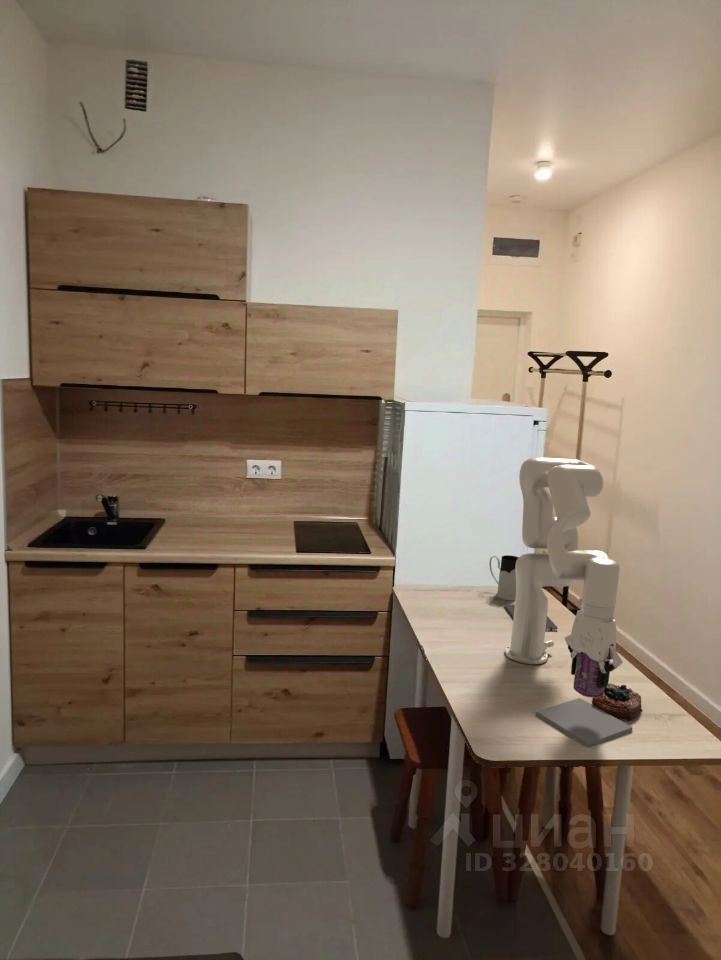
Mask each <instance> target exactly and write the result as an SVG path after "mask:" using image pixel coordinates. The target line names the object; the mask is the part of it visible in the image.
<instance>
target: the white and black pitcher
mask: <svg viewBox="0 0 721 960" xmlns="http://www.w3.org/2000/svg"><path fill="white" fill-rule="evenodd" d="M519 557H520V556H516V555H511V554H510V555H502V556H501V560H500V558H499V557H497V556H495V555H493V556H491V557H490V559H489V570H490V574H491V576H492V578H493V579H494V581H495V583H496V584H497V592H496V593H495V595H496V597H497V598H499V599H503V600H506V601H515V598H516V571H515V566H516V561H517V559H518V558H519ZM493 558H496V560H497V568H498V569H499V575H498V580H497V577H496V576H495V575H494V572H493V569H492V560H493Z"/></svg>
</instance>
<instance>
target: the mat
mask: <svg viewBox="0 0 721 960" xmlns="http://www.w3.org/2000/svg"><path fill="white" fill-rule="evenodd" d="M535 716H537V717H539V718H540V719H542V720H543V721H545V722H546V723H548V724H550V725H551V726H553V727H555V728H556V729H558V730H559V731H561V732H563V733H564V734H566V735H567V736H569V737H571V738H572V739H574V740H576V742H579V743H580V744H582V745H583V746H585V747H587V748H589V747H591V746H594V745H595V746H596V745H597V744H600V743H603V742H605V741H608V740H611V739H613V738H617V737H620V736H622V735H625V734H628V733H630V732H633V729H634V727H633V726H631V725H630V724H627V723H626V722H624V721H623V720H621V719H617V718H615V717H613V716H612V715H610V714H608V713H606V712H604V711H603V710H601V709H599V708H597V707H595V706H594V705H592V703H591V702H588V701H586V700H585V699H582V698H581V697H578V698H575V699H571V700H568V701H566V702H562V703H559V704H555V705H551V706H548V707H545V708H541V709H538V710H536V711H535Z"/></svg>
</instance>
